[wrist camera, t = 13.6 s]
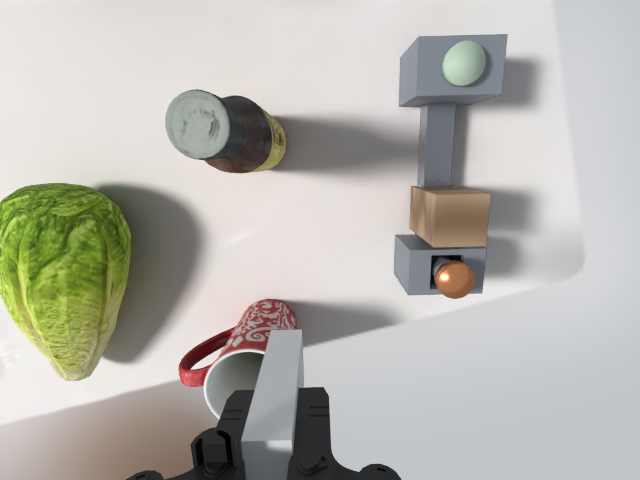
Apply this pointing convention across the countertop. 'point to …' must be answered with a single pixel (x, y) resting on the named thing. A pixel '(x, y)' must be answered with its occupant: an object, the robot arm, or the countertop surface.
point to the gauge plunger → (452, 276)
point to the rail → (436, 144)
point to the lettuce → (64, 271)
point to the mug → (236, 353)
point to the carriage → (450, 215)
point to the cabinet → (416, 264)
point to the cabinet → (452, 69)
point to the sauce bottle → (225, 132)
